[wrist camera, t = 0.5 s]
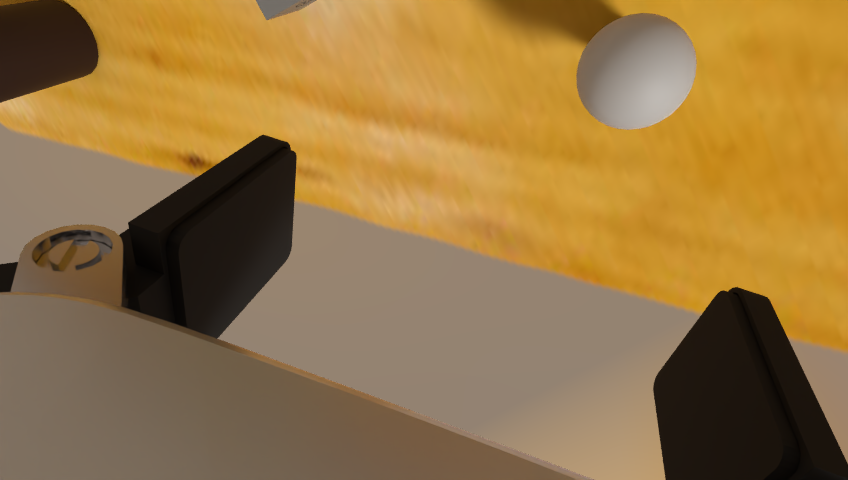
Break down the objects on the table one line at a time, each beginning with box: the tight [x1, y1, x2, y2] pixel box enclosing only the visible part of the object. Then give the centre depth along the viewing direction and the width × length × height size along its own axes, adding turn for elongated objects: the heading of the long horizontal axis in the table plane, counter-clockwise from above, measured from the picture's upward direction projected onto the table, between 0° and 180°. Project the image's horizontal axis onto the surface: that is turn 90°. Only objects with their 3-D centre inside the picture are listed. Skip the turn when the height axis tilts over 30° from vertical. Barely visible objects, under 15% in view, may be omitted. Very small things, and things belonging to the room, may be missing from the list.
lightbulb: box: [577, 13, 696, 130], centre depth 30 cm, size 6×6×11 cm
